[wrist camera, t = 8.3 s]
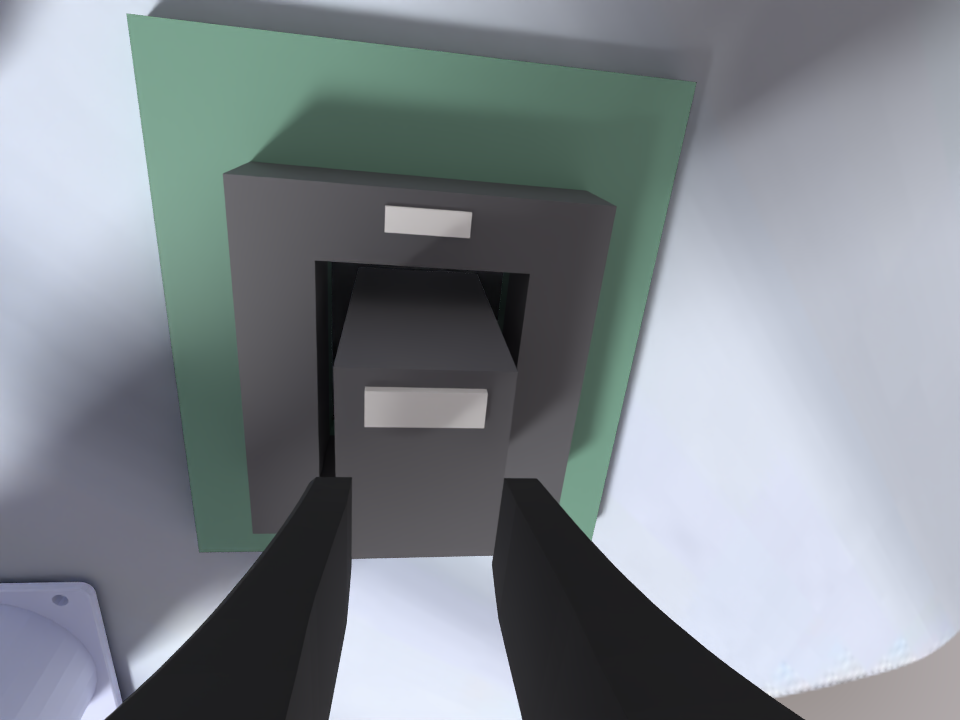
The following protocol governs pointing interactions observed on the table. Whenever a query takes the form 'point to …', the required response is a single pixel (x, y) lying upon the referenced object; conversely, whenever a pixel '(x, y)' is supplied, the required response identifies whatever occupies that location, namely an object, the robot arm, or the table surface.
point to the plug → (422, 414)
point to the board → (395, 131)
